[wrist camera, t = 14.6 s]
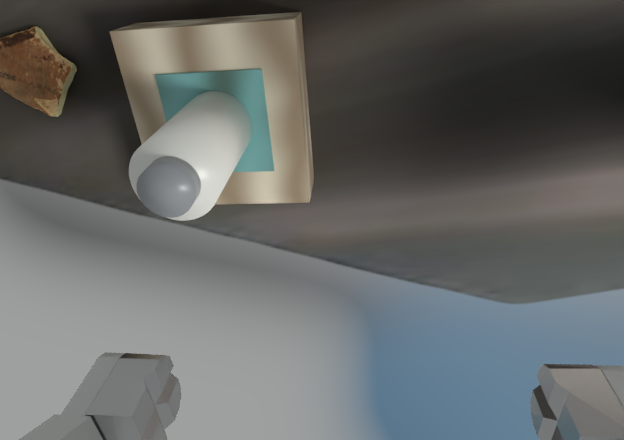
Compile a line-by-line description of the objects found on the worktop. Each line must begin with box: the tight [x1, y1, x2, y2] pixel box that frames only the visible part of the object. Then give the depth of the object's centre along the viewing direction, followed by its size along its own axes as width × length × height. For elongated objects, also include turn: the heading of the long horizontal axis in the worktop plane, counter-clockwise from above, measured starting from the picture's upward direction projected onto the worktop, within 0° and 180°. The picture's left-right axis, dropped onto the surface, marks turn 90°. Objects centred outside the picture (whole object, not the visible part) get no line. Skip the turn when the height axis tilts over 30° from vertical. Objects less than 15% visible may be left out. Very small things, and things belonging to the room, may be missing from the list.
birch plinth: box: [109, 12, 314, 204], centre depth 40 cm, size 15×16×5 cm
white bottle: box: [129, 91, 253, 221], centre depth 33 cm, size 6×6×13 cm
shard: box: [0, 26, 77, 117], centre depth 41 cm, size 11×8×2 cm
